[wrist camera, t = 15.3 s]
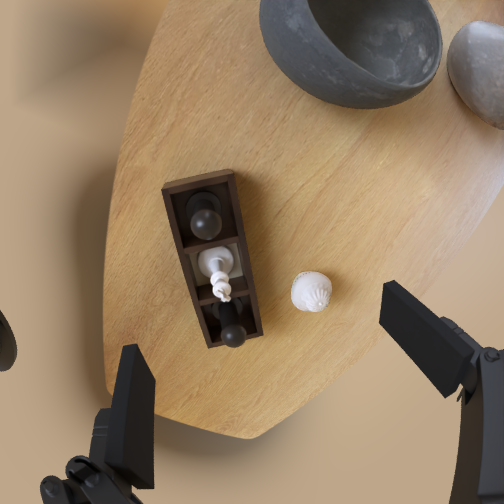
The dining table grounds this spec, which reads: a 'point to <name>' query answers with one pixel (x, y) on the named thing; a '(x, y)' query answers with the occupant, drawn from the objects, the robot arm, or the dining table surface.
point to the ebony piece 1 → (204, 214)
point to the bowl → (354, 48)
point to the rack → (192, 245)
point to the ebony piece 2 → (230, 321)
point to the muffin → (311, 291)
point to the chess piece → (217, 269)
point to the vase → (479, 69)
